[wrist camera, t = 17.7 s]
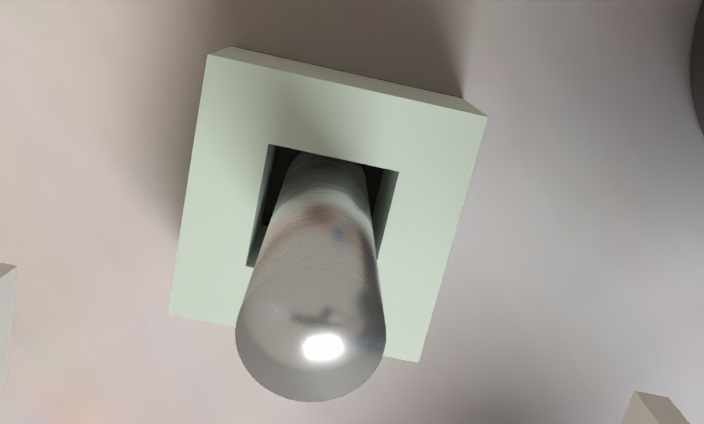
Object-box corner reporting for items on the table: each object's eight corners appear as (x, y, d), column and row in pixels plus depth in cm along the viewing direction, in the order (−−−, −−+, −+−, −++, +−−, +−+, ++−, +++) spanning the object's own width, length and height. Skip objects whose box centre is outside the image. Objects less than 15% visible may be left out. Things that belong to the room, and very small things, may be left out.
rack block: (463, 98, 28) (488, 117, 23) (406, 308, 31) (418, 362, 26) (231, 46, 27) (207, 54, 22) (195, 265, 30) (167, 314, 25)
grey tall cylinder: (374, 154, 29) (402, 283, 15) (356, 231, 30) (367, 413, 16) (293, 137, 28) (249, 252, 15) (277, 215, 29) (223, 387, 16)
